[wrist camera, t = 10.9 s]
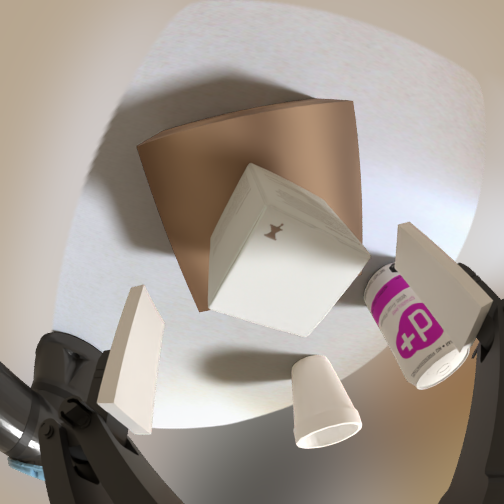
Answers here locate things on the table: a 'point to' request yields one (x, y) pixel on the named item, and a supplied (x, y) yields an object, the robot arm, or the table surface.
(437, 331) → the supplement can
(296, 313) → the product box
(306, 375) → the foam cup
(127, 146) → the table surface
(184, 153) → the walnut block
